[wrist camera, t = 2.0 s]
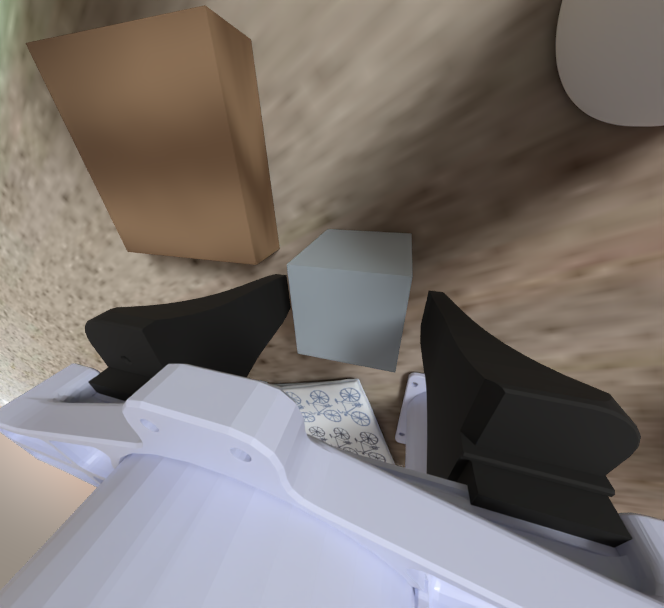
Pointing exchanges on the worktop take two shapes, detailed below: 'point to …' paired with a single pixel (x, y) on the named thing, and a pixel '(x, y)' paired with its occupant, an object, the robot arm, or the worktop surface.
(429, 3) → the worktop surface
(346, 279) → the slate cube
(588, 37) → the pill bottle
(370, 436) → the white bicycle print cloth
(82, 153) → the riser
